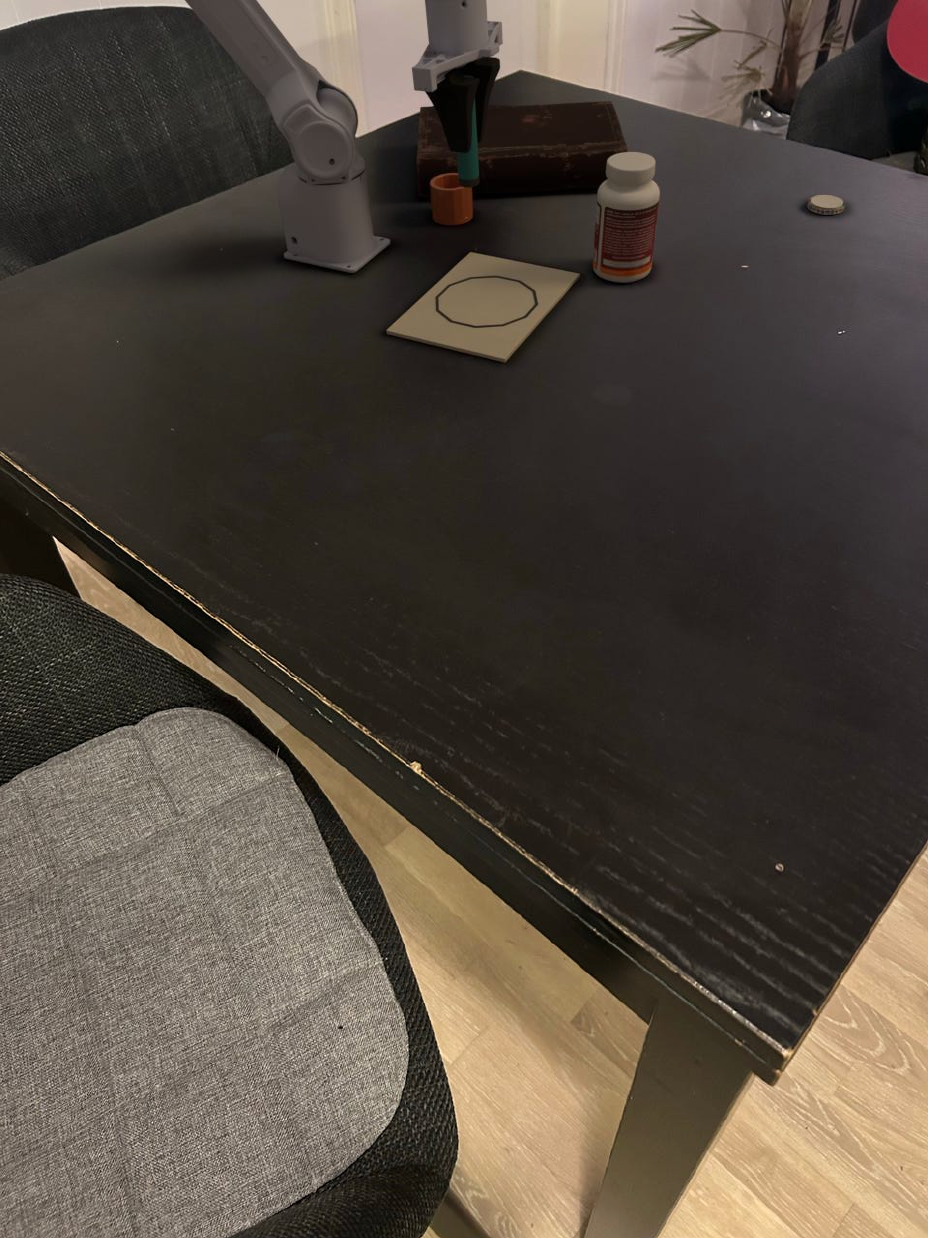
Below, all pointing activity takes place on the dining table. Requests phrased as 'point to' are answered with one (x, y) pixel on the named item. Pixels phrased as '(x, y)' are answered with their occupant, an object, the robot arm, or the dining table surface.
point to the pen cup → (450, 200)
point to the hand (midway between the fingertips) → (466, 145)
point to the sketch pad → (484, 306)
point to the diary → (528, 147)
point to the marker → (469, 158)
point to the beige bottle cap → (826, 204)
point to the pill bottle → (626, 218)
